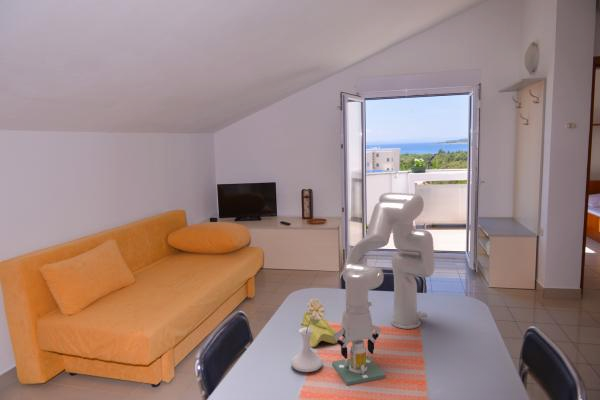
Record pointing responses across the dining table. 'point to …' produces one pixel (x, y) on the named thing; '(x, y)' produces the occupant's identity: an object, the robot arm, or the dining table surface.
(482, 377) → the dining table surface
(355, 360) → the supplement bottle
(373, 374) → the board
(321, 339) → the plastic component
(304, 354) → the flower in vase
